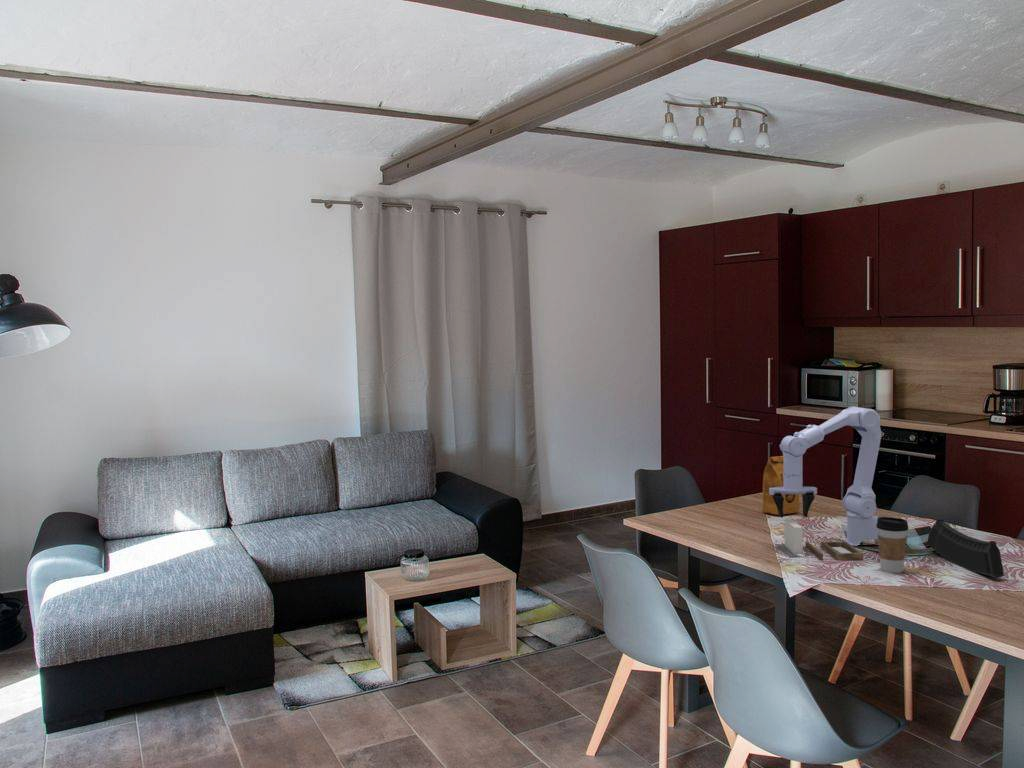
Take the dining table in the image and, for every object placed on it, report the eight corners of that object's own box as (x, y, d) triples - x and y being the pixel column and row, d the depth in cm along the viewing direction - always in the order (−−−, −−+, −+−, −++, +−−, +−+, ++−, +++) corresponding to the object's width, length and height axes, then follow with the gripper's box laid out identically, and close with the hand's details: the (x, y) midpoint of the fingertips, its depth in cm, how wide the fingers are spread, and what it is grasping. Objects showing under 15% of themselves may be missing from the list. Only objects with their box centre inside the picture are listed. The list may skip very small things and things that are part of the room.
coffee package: (803, 514, 307) (803, 455, 305) (777, 517, 302) (777, 458, 300) (785, 508, 316) (785, 452, 314) (759, 512, 311) (759, 455, 309)
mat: (797, 544, 265) (797, 543, 265) (812, 557, 251) (812, 556, 251) (775, 545, 265) (775, 544, 265) (789, 557, 251) (789, 556, 251)
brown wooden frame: (845, 547, 261) (845, 541, 261) (863, 560, 247) (863, 553, 247) (804, 548, 261) (804, 542, 261) (820, 560, 247) (820, 554, 247)
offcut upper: (840, 549, 258) (840, 546, 258) (852, 556, 251) (852, 552, 251) (831, 550, 257) (831, 547, 257) (842, 556, 251) (842, 553, 250)
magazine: (1011, 551, 222) (945, 497, 249) (999, 551, 221) (935, 498, 249) (997, 604, 228) (935, 546, 256) (986, 605, 227) (925, 546, 255)
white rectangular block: (792, 545, 263) (792, 519, 263) (802, 554, 253) (802, 527, 253) (784, 545, 263) (784, 519, 263) (794, 554, 253) (794, 527, 253)
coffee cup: (871, 565, 241) (871, 515, 240) (900, 565, 241) (900, 515, 240) (883, 574, 233) (883, 522, 232) (913, 574, 232) (913, 522, 231)
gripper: (811, 471, 263) (811, 513, 264) (766, 472, 263) (766, 514, 264) (819, 475, 256) (819, 518, 257) (772, 476, 256) (773, 519, 257)
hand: (793, 516), depth 260 cm, fingers open, 7 cm apart
